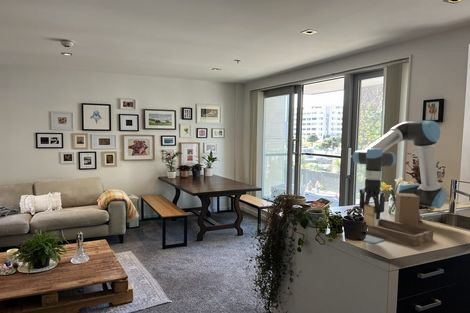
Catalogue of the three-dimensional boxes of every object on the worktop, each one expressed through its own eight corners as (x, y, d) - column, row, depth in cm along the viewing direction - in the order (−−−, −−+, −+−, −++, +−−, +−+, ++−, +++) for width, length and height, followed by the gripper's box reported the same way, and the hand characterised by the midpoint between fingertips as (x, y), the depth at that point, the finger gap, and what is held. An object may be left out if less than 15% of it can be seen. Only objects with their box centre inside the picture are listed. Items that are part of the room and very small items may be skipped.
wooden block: (417, 232, 189) (419, 196, 188) (398, 230, 191) (400, 195, 190) (412, 227, 199) (414, 193, 197) (394, 226, 201) (395, 192, 199)
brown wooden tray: (380, 226, 198) (380, 218, 198) (432, 240, 175) (433, 230, 175) (361, 231, 187) (361, 223, 187) (414, 246, 164) (415, 236, 163)
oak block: (368, 222, 176) (369, 203, 176) (377, 224, 172) (378, 205, 172) (363, 224, 174) (364, 204, 173) (372, 226, 170) (373, 206, 169)
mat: (366, 235, 181) (366, 234, 181) (384, 240, 173) (384, 239, 173) (355, 238, 175) (355, 237, 175) (373, 244, 167) (373, 243, 167)
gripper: (353, 177, 176) (351, 221, 178) (385, 181, 162) (383, 229, 164) (361, 176, 181) (359, 219, 182) (394, 180, 166) (391, 227, 168)
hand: (370, 223), depth 173 cm, fingers closed on oak block, 5 cm apart
